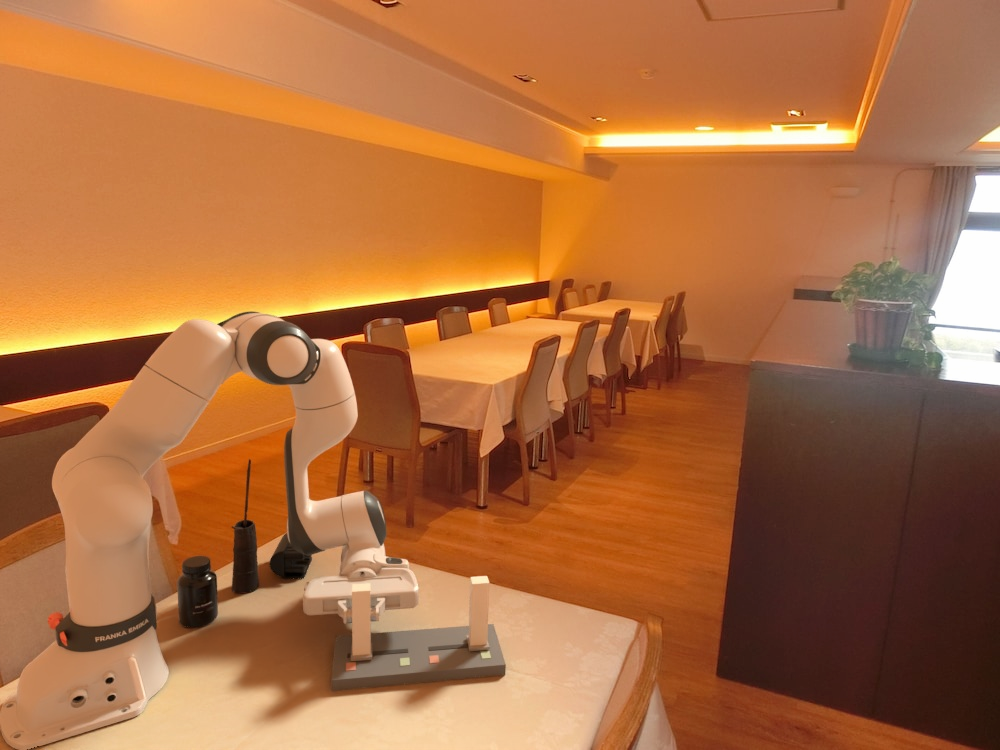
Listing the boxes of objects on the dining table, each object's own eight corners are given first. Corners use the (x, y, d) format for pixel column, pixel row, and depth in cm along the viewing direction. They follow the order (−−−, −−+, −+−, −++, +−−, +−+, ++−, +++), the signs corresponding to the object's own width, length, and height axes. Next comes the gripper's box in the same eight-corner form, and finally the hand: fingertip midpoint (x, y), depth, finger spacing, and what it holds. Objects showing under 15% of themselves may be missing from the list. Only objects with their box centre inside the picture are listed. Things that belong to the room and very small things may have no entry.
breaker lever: (469, 651, 113) (471, 586, 110) (466, 637, 117) (468, 574, 114) (489, 649, 113) (492, 585, 111) (485, 635, 117) (488, 573, 115)
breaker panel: (331, 690, 105) (331, 679, 104) (335, 645, 116) (335, 635, 116) (505, 674, 110) (505, 664, 110) (493, 633, 122) (493, 623, 122)
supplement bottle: (203, 631, 119) (199, 572, 116) (171, 626, 120) (166, 567, 118) (226, 611, 126) (223, 555, 123) (195, 606, 127) (191, 550, 124)
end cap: (281, 557, 147) (280, 530, 146) (312, 557, 148) (312, 530, 146) (269, 580, 137) (268, 551, 136) (303, 580, 138) (303, 551, 137)
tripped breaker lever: (350, 661, 109) (349, 594, 106) (351, 646, 113) (350, 581, 110) (372, 659, 110) (372, 593, 107) (372, 645, 113) (372, 580, 111)
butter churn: (226, 608, 127) (219, 474, 121) (210, 587, 134) (203, 460, 128) (272, 592, 133) (267, 464, 127) (254, 574, 140) (249, 451, 134)
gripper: (305, 565, 119) (296, 606, 106) (416, 558, 123) (421, 597, 110) (306, 595, 121) (297, 640, 107) (415, 588, 125) (420, 630, 111)
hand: (361, 618), depth 109 cm, fingers closed on tripped breaker lever, 3 cm apart
